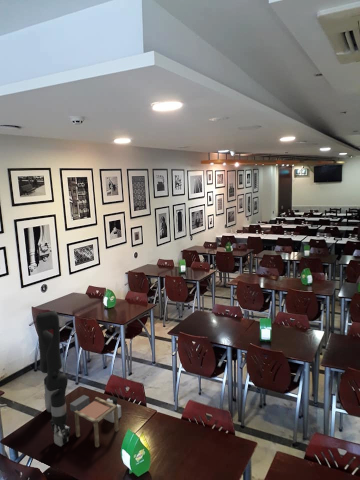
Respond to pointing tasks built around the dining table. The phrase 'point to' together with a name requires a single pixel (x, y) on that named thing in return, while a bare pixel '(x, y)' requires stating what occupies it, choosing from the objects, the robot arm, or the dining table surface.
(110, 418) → the medicine bottle
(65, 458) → the dining table surface
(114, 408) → the stand
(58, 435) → the light gray cube
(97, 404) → the trapdoor
